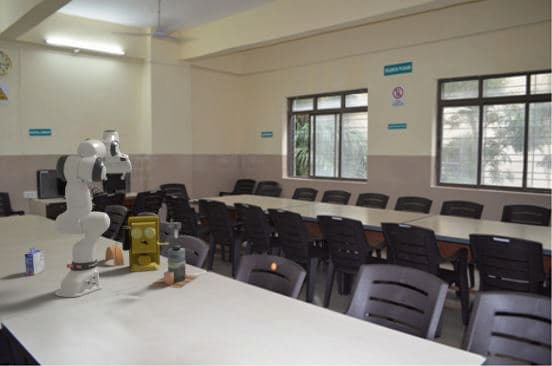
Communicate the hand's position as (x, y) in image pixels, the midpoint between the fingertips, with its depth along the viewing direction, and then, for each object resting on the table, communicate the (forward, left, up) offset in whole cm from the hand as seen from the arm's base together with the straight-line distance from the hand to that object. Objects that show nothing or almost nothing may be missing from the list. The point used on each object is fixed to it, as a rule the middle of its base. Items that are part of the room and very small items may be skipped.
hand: (114, 179), depth 266 cm
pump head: (-19, -48, -29) cm, 60 cm away
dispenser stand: (-18, -48, -53) cm, 74 cm away
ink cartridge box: (-22, +39, -53) cm, 69 cm away
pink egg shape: (-25, -48, -51) cm, 75 cm away
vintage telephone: (+3, -15, -53) cm, 55 cm away
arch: (+10, +9, -53) cm, 55 cm away
